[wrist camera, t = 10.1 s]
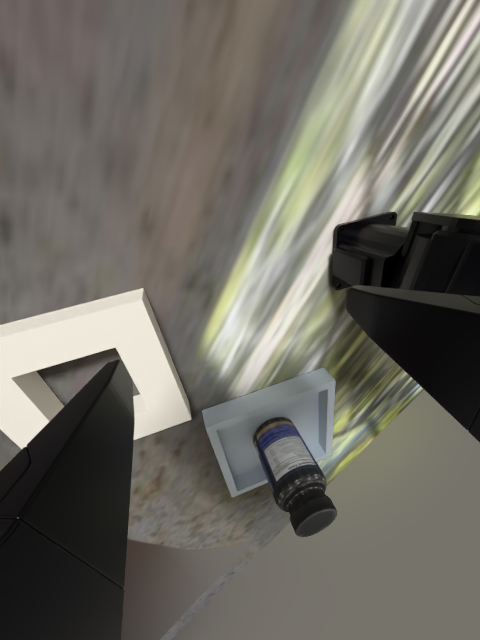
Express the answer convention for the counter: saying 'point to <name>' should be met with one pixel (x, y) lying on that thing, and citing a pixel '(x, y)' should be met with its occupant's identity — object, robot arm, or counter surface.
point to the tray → (260, 406)
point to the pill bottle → (294, 476)
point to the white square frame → (82, 340)
